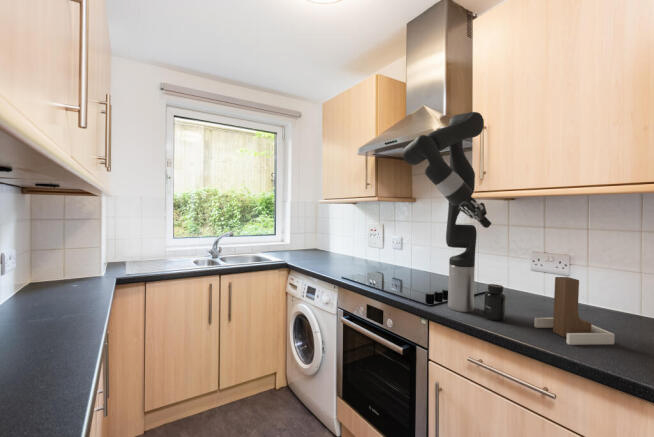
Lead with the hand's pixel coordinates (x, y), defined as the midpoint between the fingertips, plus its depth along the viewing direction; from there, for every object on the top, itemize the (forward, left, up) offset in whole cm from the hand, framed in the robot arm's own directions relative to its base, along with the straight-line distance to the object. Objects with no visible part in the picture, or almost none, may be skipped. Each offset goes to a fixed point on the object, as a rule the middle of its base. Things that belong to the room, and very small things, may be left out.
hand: (488, 225), depth 101 cm
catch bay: (+6, +25, -34) cm, 42 cm away
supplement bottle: (-9, +9, -34) cm, 36 cm away
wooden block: (+6, +25, -34) cm, 43 cm away
